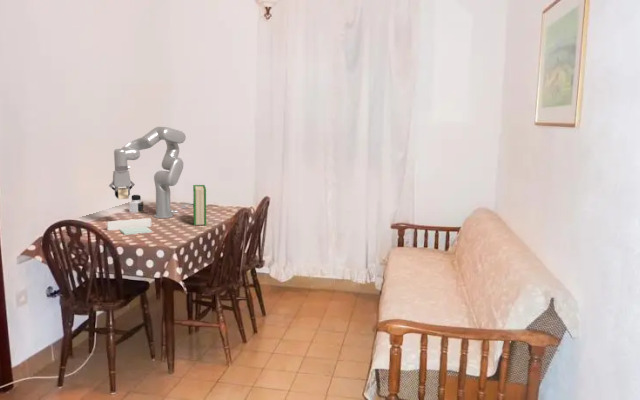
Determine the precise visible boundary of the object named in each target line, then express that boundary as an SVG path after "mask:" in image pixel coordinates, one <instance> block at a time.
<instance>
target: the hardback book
mask: <svg viewBox="0 0 640 400" xmlns="http://www.w3.org/2000/svg"><path fill="white" fill-rule="evenodd" d="M192 186H193V190H192V192H193V193H192V194H193V195H192V197H193V199H192V200H193V203H192V204H193V225H196V226H197V225H198V226H201V225H204V226H205V225H206V226H207V188H206V185H205V184H193V185H192Z"/></svg>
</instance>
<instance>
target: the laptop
mask: <svg viewBox="0 0 640 400" xmlns="http://www.w3.org/2000/svg"><path fill="white" fill-rule="evenodd" d="M185 205H193V203H185V204H183V205H182V206H181V207H180V209H186V208H185V207H186V206H185Z"/></svg>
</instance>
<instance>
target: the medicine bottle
mask: <svg viewBox="0 0 640 400" xmlns="http://www.w3.org/2000/svg"><path fill="white" fill-rule="evenodd" d="M141 198H142V197H141V195H139V194H133V195H131V201H130V202H128V206H129V207H128V208H129V209H128V211H129V213H137V214H138V213H142V212H144V201H142V199H141Z"/></svg>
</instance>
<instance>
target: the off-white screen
mask: <svg viewBox="0 0 640 400" xmlns="http://www.w3.org/2000/svg"><path fill="white" fill-rule="evenodd" d="M139 227H148V228H149V227H150V228H151V227H152V218H151V217H148V218H135V219H125V220H123V219H122V220H112V221H111V220H110V221H107V222H106V228H107V229H106V230H107V231H115V230H117V231H118V230H120V229H127V228H139Z"/></svg>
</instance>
